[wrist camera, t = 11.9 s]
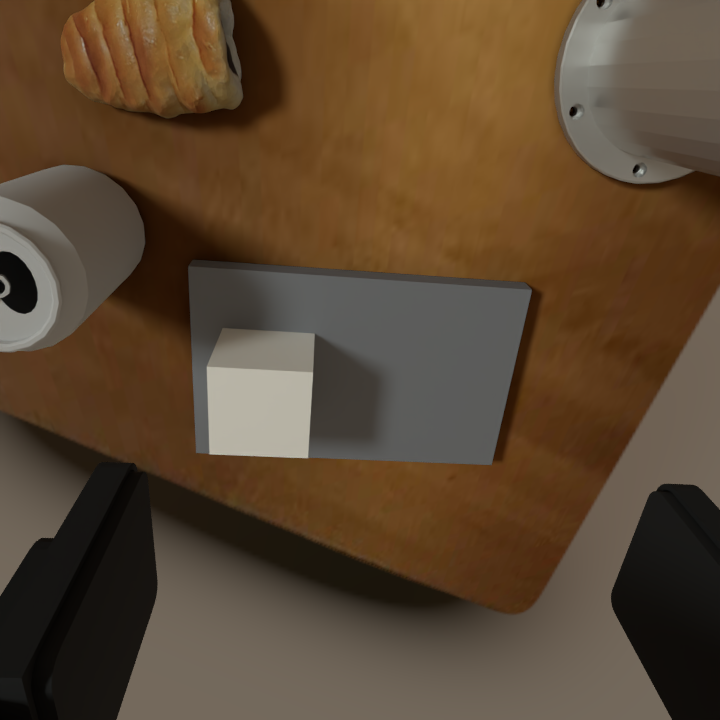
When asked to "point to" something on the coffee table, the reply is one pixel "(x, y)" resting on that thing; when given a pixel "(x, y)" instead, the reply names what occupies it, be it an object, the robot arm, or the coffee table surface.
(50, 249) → the can
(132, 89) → the pastry
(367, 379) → the board
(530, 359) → the coffee table surface
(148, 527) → the robot arm
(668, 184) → the coffee table surface
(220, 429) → the cream foam cube
